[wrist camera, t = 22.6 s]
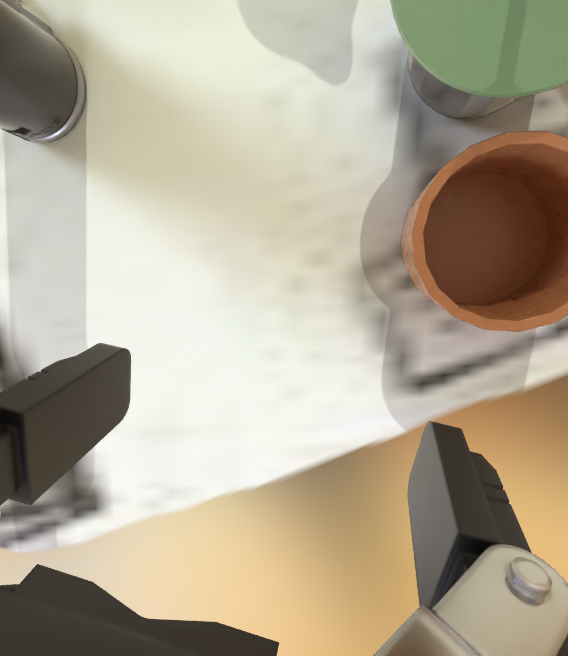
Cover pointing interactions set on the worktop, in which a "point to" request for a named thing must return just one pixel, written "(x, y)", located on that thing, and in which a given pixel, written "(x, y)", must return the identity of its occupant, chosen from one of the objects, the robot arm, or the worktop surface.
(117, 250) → the worktop surface
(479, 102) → the cup
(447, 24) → the lid
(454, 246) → the clay pot
